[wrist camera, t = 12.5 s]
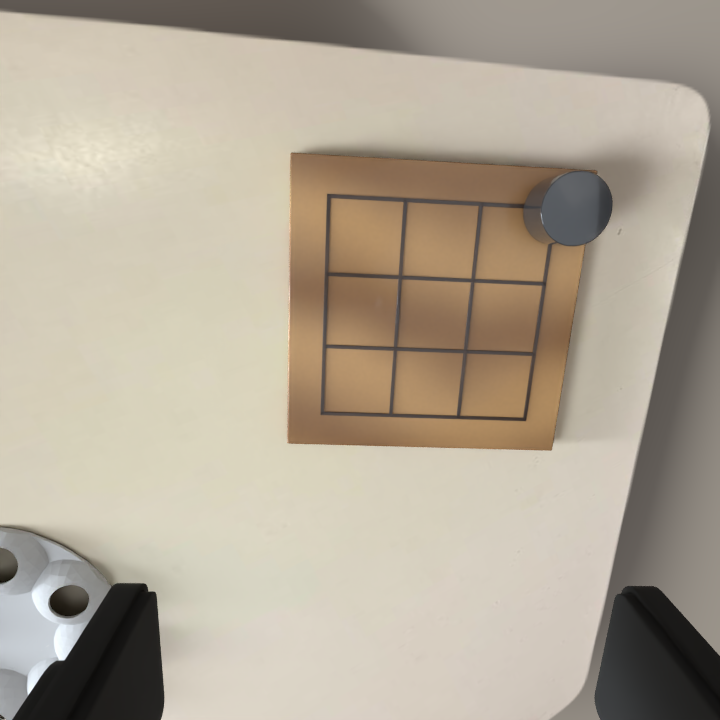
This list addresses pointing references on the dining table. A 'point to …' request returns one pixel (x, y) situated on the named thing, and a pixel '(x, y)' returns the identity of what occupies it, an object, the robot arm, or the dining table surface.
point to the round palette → (39, 612)
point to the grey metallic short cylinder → (568, 209)
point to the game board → (424, 305)
